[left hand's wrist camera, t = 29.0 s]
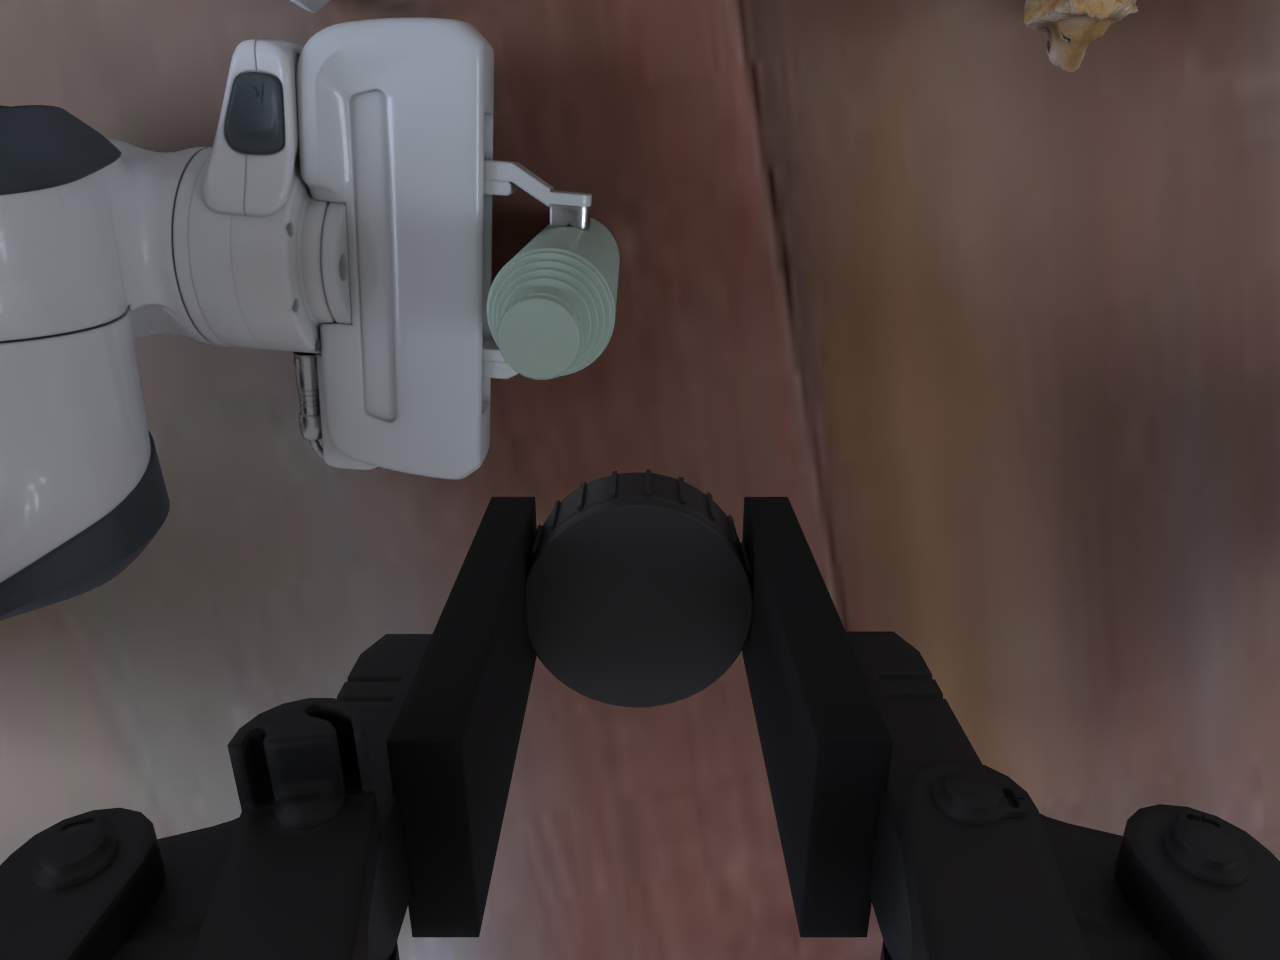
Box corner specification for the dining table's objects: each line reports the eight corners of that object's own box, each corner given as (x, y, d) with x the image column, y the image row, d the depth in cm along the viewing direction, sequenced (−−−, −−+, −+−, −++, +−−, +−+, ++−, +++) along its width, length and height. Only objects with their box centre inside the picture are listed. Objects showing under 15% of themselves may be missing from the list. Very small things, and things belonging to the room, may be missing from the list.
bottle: (560, 318, 46) (513, 434, 27) (517, 240, 45) (435, 308, 26) (634, 278, 45) (639, 369, 27) (593, 198, 44) (567, 235, 25)
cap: (773, 624, 15) (787, 671, 14) (577, 685, 16) (572, 737, 14) (706, 437, 14) (713, 468, 13) (494, 510, 14) (479, 548, 13)
